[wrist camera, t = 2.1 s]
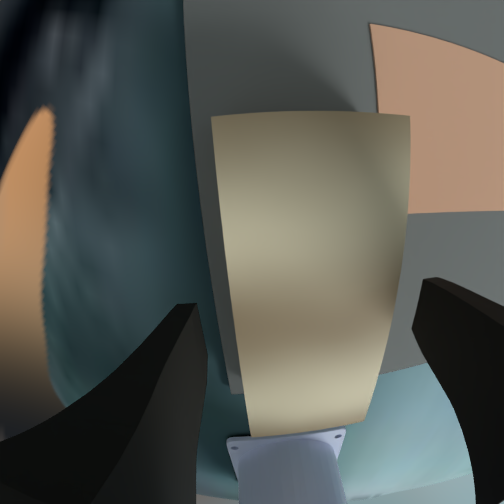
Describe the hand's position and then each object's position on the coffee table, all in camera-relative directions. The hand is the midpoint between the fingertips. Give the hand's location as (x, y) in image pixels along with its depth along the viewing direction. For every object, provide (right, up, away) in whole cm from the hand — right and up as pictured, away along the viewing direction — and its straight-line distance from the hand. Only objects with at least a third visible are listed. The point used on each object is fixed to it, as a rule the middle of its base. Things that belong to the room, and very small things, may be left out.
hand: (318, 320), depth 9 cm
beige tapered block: (0, +1, +3) cm, 3 cm away
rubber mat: (+7, +6, +2) cm, 9 cm away
